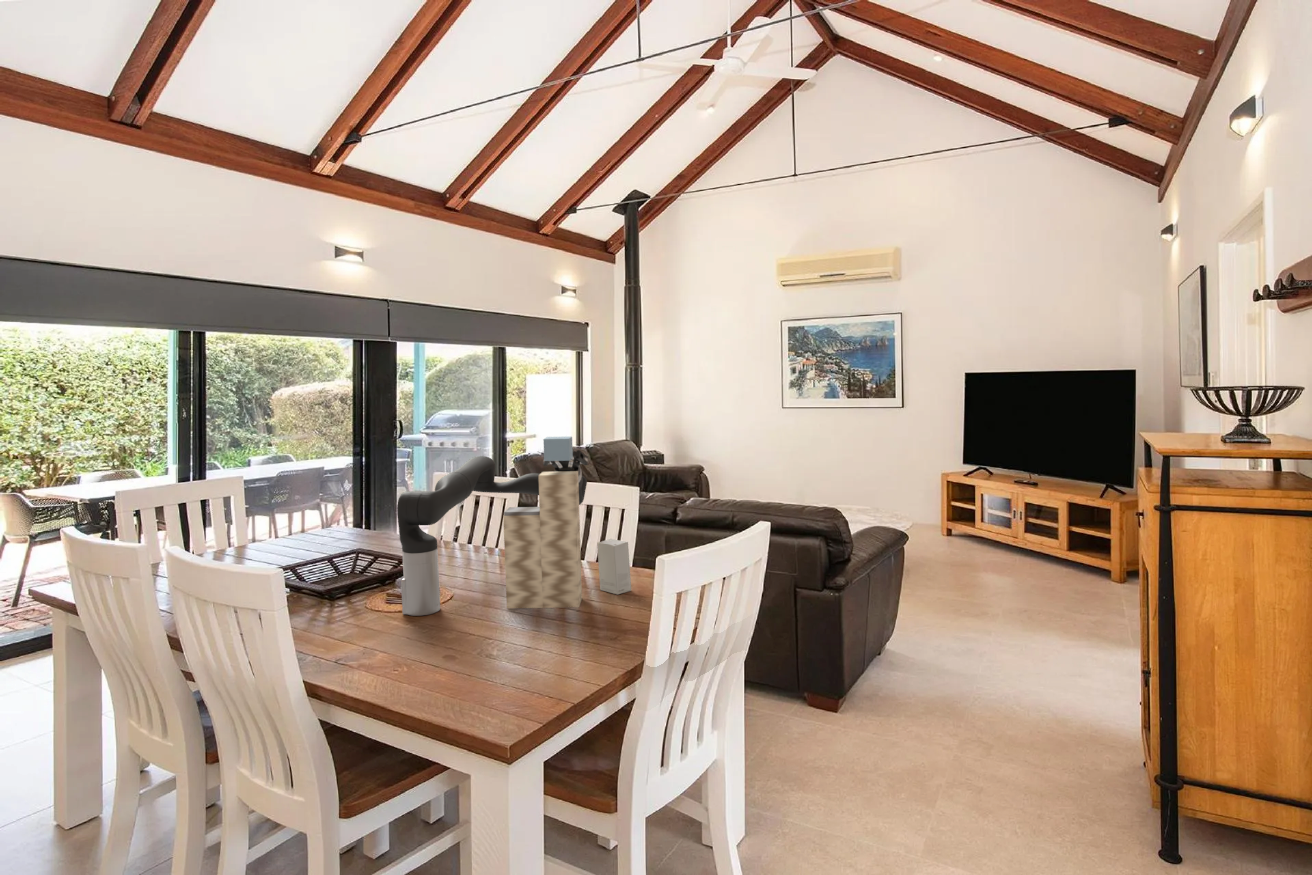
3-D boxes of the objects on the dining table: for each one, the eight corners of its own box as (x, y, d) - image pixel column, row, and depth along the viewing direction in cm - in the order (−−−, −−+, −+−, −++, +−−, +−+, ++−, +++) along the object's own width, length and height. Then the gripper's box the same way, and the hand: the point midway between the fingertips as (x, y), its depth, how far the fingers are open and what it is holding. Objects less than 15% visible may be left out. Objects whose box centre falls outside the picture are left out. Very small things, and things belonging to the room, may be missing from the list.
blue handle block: (544, 461, 199) (543, 439, 198) (552, 454, 215) (552, 434, 214) (569, 460, 199) (569, 438, 198) (576, 453, 215) (575, 433, 214)
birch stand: (506, 608, 201) (501, 476, 198) (512, 600, 209) (507, 472, 206) (578, 607, 201) (575, 474, 198) (581, 598, 209) (578, 471, 205)
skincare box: (631, 591, 215) (630, 541, 214) (616, 595, 211) (615, 545, 210) (613, 585, 221) (612, 537, 220) (597, 589, 217) (596, 540, 216)
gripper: (546, 460, 225) (537, 436, 210) (591, 459, 225) (586, 435, 210) (545, 482, 222) (536, 460, 207) (591, 481, 222) (585, 459, 207)
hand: (561, 448), depth 208 cm, fingers closed on blue handle block, 3 cm apart
